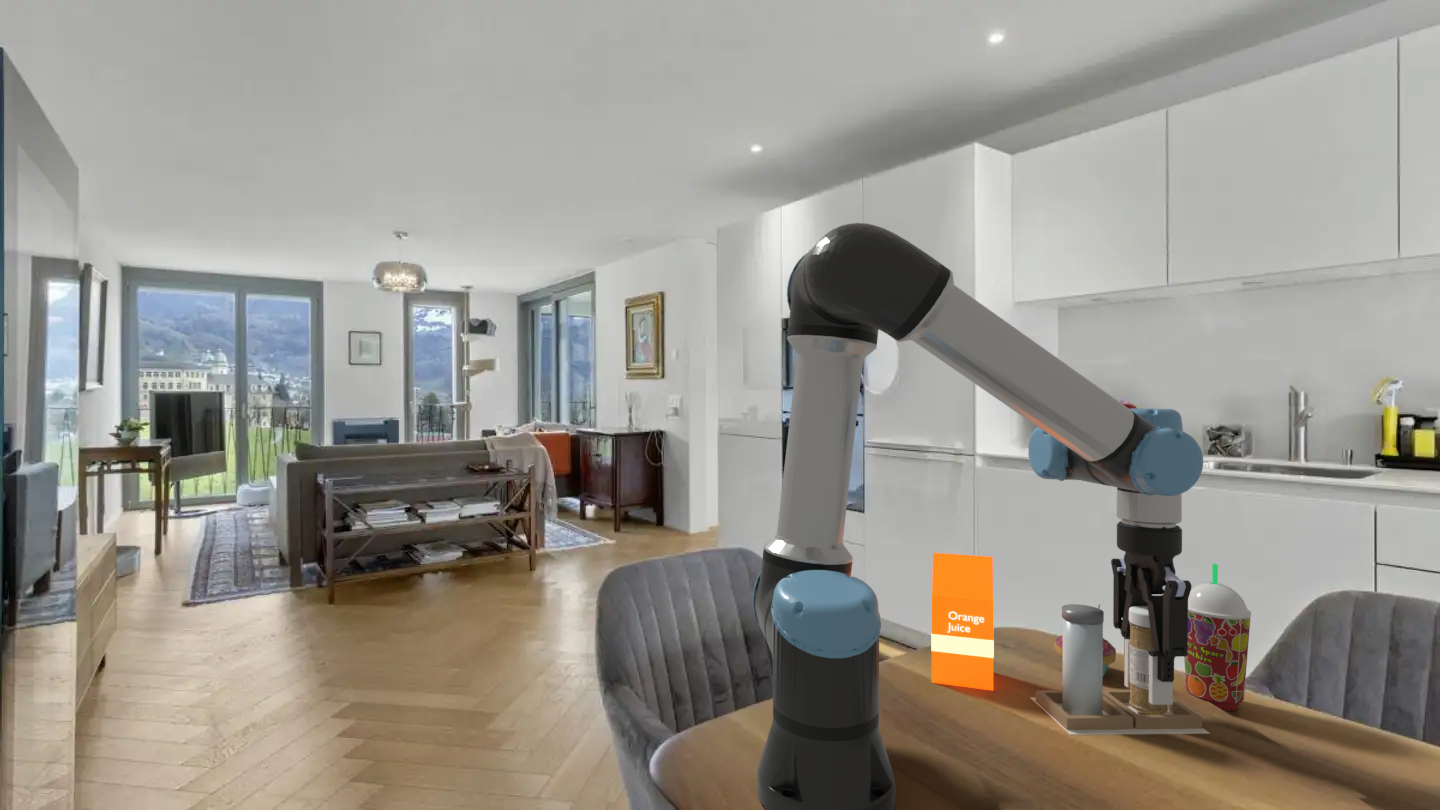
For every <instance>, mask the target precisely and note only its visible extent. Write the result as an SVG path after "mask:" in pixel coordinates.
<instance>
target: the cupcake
mask: <svg viewBox="0 0 1440 810" xmlns="http://www.w3.org/2000/svg"><path fill="white" fill-rule="evenodd" d="M1100 606H1101V604H1098V606H1097V608H1098V609H1100V608H1101V607H1100ZM1053 647H1054V651H1055V652H1056V654H1057V655H1058V656H1059V657H1061V659H1062V660H1063V634H1062V635H1059V636H1058V637H1057V638H1056V639H1055V642H1054V646H1053ZM1116 652H1117V651H1116V647H1114V646H1113V644H1111V642H1109V640H1107V639H1105V638H1104V637H1103V677H1104V676H1105V675H1106V672H1107V669H1108V668H1109V665H1111V664H1113V663H1115V661H1116V659H1117V658H1116V655H1117V653H1116Z"/></svg>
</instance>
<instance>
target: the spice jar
mask: <svg viewBox="0 0 1440 810" xmlns="http://www.w3.org/2000/svg"><path fill="white" fill-rule="evenodd" d="M1129 624H1130V688H1129V690H1130V700H1129V705H1130V706H1131V707H1133V708H1134V709H1136V710H1138V711H1140V712H1143V713H1147V714H1153V715H1160V714H1165V713H1167V711H1168V707H1167V705H1152V704H1151V703H1149V653H1148V651H1154V650H1153V642H1152V635H1151V628H1150V620H1149V613H1148V606H1133V607H1130V608H1129ZM1162 647H1163V645H1162Z"/></svg>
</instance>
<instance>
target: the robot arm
mask: <svg viewBox="0 0 1440 810" xmlns="http://www.w3.org/2000/svg"><path fill="white" fill-rule="evenodd" d="M953 274H954V273H953V271H952V270H951V269H949V268H948V267H946V266H945V265H943V264H942V263H941V262H939V261H938V260H936V259H935V258H934V257H933V256H931V255H929V254H928V253H926V252H925V251H923V250H922V249H921V248H919V247H917V246H916V245H914V244H913V243H911V242H910V241H909V240H907V239H905V238H903V237H902V236H899V235H898V234H896V233H894V232H893V231H891V230H889V229H886V228H884V227H881V226H878V225H875V224H870V223H862V222H856V223H855V222H853V223H847V224H844V225H843V224H842V225H840V226H838V227H836V228H835V227H834V228H833V229H832V230H830V231H828V232H827V233H826V234H824V235H823V236H822V237H821V238H820V239H819V240H818V241H817V242H816V243H815V245H814V246H812V248H811V249H809V250H807V252H805V254H803V255H802V256H801V257H800V258H799V260H798V261H797V263H796V264H795V265H794V267H793V269H792V270H791V273H790V276H789V278H788V282H787V286H786V297H787V304H788V305H787V306H788V309H789V320H788V326H787V327H788V330H787V336H786V339H787V342H788V343H789V344H790V346H791V347H792V348H793V349H794V351H795V353H796V360H795V371H794V379H793V386H792V387H793V388H792V397H791V406H790V415H789V422H788V423H789V424H788V430H787V431H788V432H787V433H788V434H787V441H786V450H785V460H784V467H783V477H782V486H781V487H782V488H781V495H780V502H779V503H780V504H779V512H778V513H779V514H778V519H777V520H778V521H777V530H776V534H775V535H774V536H773V537H772V538H770V539H769V540H768V541H767V542H765V543H764V545H763V549H762V550H763V552H762V559H761V568H760V569H761V570H760V572H759V573H758V575H757V577H756V580H755V583H754V586H753V589H752V609H753V614H754V617H755V620H756V623H757V624H758V627H759V628H760V630H761V632H762V635H763V636H764V639H765V641H766V643H767V646H768V649H769V651H770V653H771V656H772V657H771V658H772V723H771V725H770V729H769V732H768V735H767V738H766V741H765V745H764V746H763V750H762V753H761V756H760V760H759V762H758V766H757V775H756V780H757V781H756V782H757V783H756V784H757V788H756V791H757V796H758V797H757V798H758V800H759V801H760V804H761V805H762V806H763V808H764V809H765V810H894V809H895V807H896V780H895V775H894V772H893V768H892V765H891V763H890V759H889V756H888V753H887V750H886V747H885V743H884V740H883V737H882V733H881V730H880V723H879V721H880V718H879V717H880V712H879V711H880V633H881V628H882V622H881V615H880V612H879V601H878V600H879V599H878V597H877V595H876V592H875V591H874V590H873V589H872V588H871V586H870V585H869V584H867V583H866V582H865V581H864V580H862V579H860V578H858V577H856V576H852V570H853V569H852V568H853V560H854V559H853V555H852V554H851V552H850V551H849V550H848V548H847V547H846V545H844V543H843V542H844V534H845V533H844V532H845V524H846V515H847V506H848V497H849V491H850V489H849V488H850V480H851V479H850V478H851V471H852V462H853V461H852V460H853V452H854V443H855V434H856V429H857V428H856V427H857V425H856V424H857V420H858V419H857V418H858V410H859V408H858V407H859V398H860V389H861V382H862V374H863V364H864V360H865V359H866V358H867V357H868V356H869V355H871V354H872V353H873V352H874V351H875V350H877V346H878V339H879V337H878V336H879V330H880V331H881V332H883V333H885V334H887V335H888V336H890V337H891V338H892V339H893V340H895V341H896V342H898V343H899V342H900V343H901V342H907V341H912V342H913V343H915V344H916V345H918V346H920V347H921V348H922V349H924V350H926V351H927V352H928V353H929V354H931V355H933V356H934V357H936V358H937V359H939V360H940V361H942V362H943V363H944V364H946V365H947V366H949V367H950V368H952V369H953V370H955V371H956V372H958V374H961V376H963V377H965V378H966V379H967V380H969V381H970V382H972V383H974V384H975V385H977V386H978V387H979V388H981V389H982V390H984V391H985V392H987V394H989V395H991V396H992V397H993V398H995V399H997V400H998V401H999V402H1001V404H1004V405H1005V406H1007V407H1008V408H1009V409H1011V410H1013V411H1014V412H1015V413H1017V414H1018V415H1020V416H1021V417H1022V418H1024V419H1025V420H1027V421H1028V422H1029V423H1031V424H1033V425H1034V426H1036V428H1035V429H1033V431H1032V433H1031V434H1030V437H1029V441H1028V453H1027V454H1028V461H1029V463H1030V466H1031V468H1032V470H1033V472H1034V473H1035V475H1037V477H1039V478H1041V479H1045V480H1058V481H1060V482H1063V481H1064V480H1065V481H1067V480H1068V481H1069V480H1070V481H1082V482H1087V483H1093V484H1097V485H1102V486H1107V487H1113V488H1116V518H1118V519H1120V521H1119V522H1117V523H1116V547H1117V548H1118V549H1119V550H1121V551H1123V552H1124V555H1123V558H1112V559H1111V562H1110V564H1111V568H1112V574H1113V583H1112V584H1113V588H1112V589H1113V598H1112V599H1113V604H1112V605H1113V606H1112V607H1113V609H1112V610H1113V611H1112V613H1113V614H1112V615H1113V621H1112V622H1113V623H1112V624H1113V627H1114V628H1115V629H1118V630H1120V634H1121V636H1122V637H1123V647H1124V649H1123V650H1124V651H1123V655H1124V663H1123V665H1124V673H1123V674H1124V675H1123V676H1124V684H1123V685H1124V687H1126V688H1127V689H1130V624H1129V608H1130V607H1133V606H1148V613H1149V620H1150V628H1151V635H1152V642H1153V650H1154V651H1148V653H1149V703H1151V704H1152V705H1173V699H1174V698H1173V697H1174V695H1173V693H1174V691H1173V690H1174V684H1173V683H1174V680H1175V659H1176V657H1179V658H1180V657H1184V656H1187V654H1188V598H1189V594H1190V591H1191V589H1192V588H1193V587H1192V584H1191V581H1189V580H1188V579H1187V580H1182V579H1180V577H1178V576H1177V575H1176V569H1175V565H1174V558H1175V557H1176V556H1179V555H1181V554H1182V552H1183V529H1182V528H1181V527H1180V526H1179V525H1177V524H1180V523H1181V522H1183V521H1182V520H1183V516H1182V511H1183V509H1182V505H1183V504H1182V503H1183V502H1182V501H1183V500H1182V496H1183V494H1184V493H1186V492H1188V491H1189V490H1190V489H1192V487H1194V486H1195V485H1196V483H1197V482H1198V480H1199V478H1200V477H1201V475H1202V473H1203V467H1204V456H1203V451H1202V449H1201V447H1200V445H1199V443H1198V442H1197V440H1196V439H1195V438H1193V436H1191V435H1190V434H1189V433H1187V432H1185V431H1184V430H1183V428H1184V427H1183V419H1182V416H1181V413H1180V412H1179V411H1177V410H1176V409H1173V408H1129V407H1127V406H1126V405H1124V403H1121V402H1120V401H1119V400H1117V399H1116V398H1114V397H1113V396H1111V394H1109V393H1107V392H1106V391H1105V390H1103V388H1100V386H1098V385H1096V384H1095V383H1093V382H1092V381H1090V380H1089V379H1087V378H1086V377H1085V376H1083V375H1082V374H1081V373H1079V372H1077V371H1076V370H1075V369H1074V368H1072V367H1071V366H1069V365H1068V364H1066V363H1065V362H1064V361H1063V360H1061V359H1059V358H1058V357H1057V356H1055V355H1054V354H1053V353H1051V352H1050V351H1048V350H1047V349H1046V348H1044V347H1042V346H1041V345H1040V344H1038V343H1037V342H1035V341H1034V340H1032V339H1031V338H1030V337H1029V336H1027V335H1026V334H1024V333H1023V332H1021V331H1020V330H1019V329H1017V328H1016V327H1014V326H1013V325H1012V324H1010V323H1008V321H1006V320H1005V319H1003V318H1002V317H1000V316H999V315H997V314H996V313H994V312H993V311H992V310H991V309H989V308H988V307H986V306H985V305H983V304H982V303H981V302H979V301H978V300H976V299H975V298H973V297H972V296H970V295H969V294H968V293H966V292H965V291H964V290H962V289H961V288H959V287H958V286H957V285H955V280H954V275H953ZM1162 645H1163V647H1162Z"/></svg>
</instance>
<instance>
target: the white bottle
mask: <svg viewBox="0 0 1440 810" xmlns="http://www.w3.org/2000/svg"><path fill="white" fill-rule="evenodd" d="M1104 613H1105V612H1104V611H1103V610H1102V609H1101V608H1099V609H1098V607H1095V606H1091V605H1087V604H1077V603H1075V604H1074V603H1072V604H1071V603H1069V604H1065V605H1062V606H1061V617H1062V635H1063V659H1062V668H1061V669H1062V675H1061V676H1062V678H1061V679H1062V681H1061V682H1062V684H1061V685H1062V689H1061V690H1062V709H1063V710H1064V711H1065V712H1067V713H1068V714H1069V715H1070V716H1071V715H1102V691H1103V690H1104V689H1103V686H1104V685H1103V681H1104V680H1103V678H1104V676H1103V638H1104V635H1103V633H1104V630H1103V628H1104V625H1103V624H1104V617H1105V616H1104V615H1105V614H1104Z"/></svg>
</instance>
